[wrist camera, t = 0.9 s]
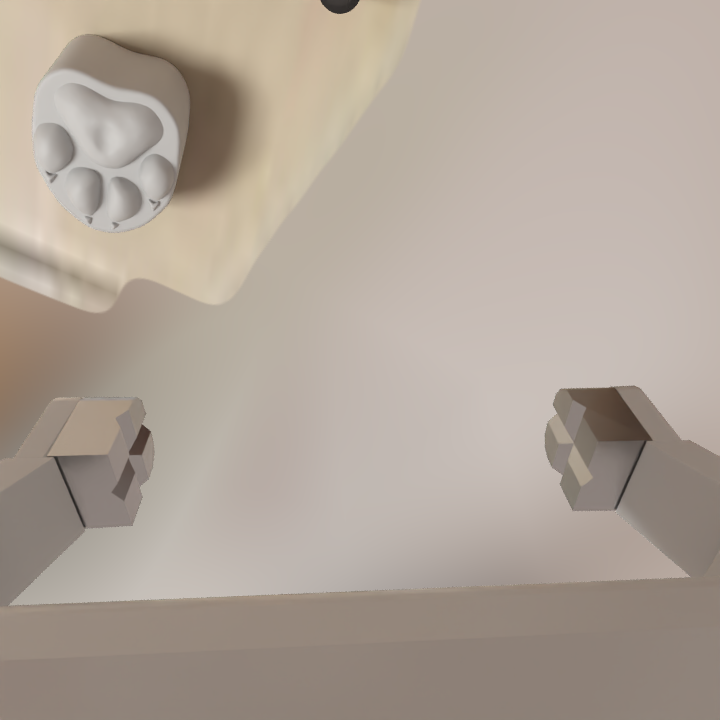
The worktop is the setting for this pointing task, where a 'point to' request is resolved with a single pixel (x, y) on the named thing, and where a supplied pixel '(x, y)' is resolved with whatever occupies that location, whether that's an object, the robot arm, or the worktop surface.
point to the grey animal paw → (110, 133)
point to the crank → (339, 5)
